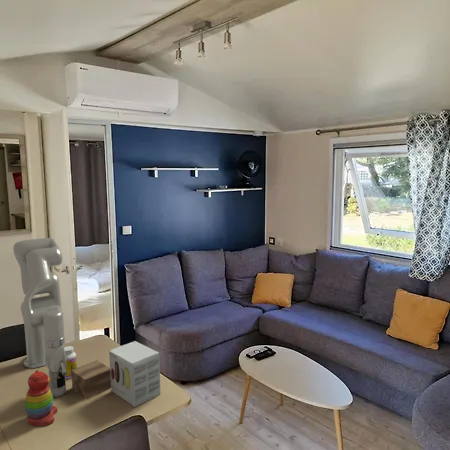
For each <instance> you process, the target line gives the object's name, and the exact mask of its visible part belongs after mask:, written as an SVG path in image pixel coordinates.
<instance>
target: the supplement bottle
mask: <svg viewBox="0 0 450 450" xmlns="http://www.w3.org/2000/svg"><path fill="white" fill-rule="evenodd" d="M64 350H65V357H66V374H65V380H70V379H72V374H71V370H73V369H75V368H78V364H77V353H76V352H75V351H74V347H73V346H72V345H71V346H70V345H68V346H64Z"/></svg>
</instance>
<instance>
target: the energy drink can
mask: <svg viewBox="0 0 450 450" xmlns="http://www.w3.org/2000/svg"><path fill="white" fill-rule="evenodd" d="M48 368H49V369H48ZM48 368H47V369H48V376H49V377H50V382H49V388H50V390H51V393H52V396H53V398H58V397H61V396H64V395H65V393H66V391H67V385H66V383H67V382H66V380H65V386H62V387H60V388H58V387H57V373H54V372H52V371H51V367H50V365H48ZM59 370H61V368H59ZM61 372H62V371H60V372H59V375H60V373H61Z"/></svg>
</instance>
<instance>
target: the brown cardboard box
mask: <svg viewBox="0 0 450 450" xmlns="http://www.w3.org/2000/svg"><path fill="white" fill-rule="evenodd" d="M71 374H72V378H71V386H72V389H73V390H74V391H76V392H77V393H78V394H80V396H82V397H83V398H85V399H88V398H90V397H93V396H96V395H97V394H100V393H101V392H102V393H103V392H104V391H107V390H109V389H111V376H110V366H107V365H106V364H104V363H103V362H101V361H99V360H94V361H92V362H89V363H87V364H84V365H81V366H79V367H78V366H77V368H75V369H73V370H71Z"/></svg>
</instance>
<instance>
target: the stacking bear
mask: <svg viewBox="0 0 450 450" xmlns="http://www.w3.org/2000/svg"><path fill="white" fill-rule="evenodd" d="M27 385H28V387H29V388H28V390H27V392H26V395H25V400H24V406H25V407H24V408H25V411H26V413H27V418H26V422H27V424H29V425H31V426H35V427H36V426H37V427H38V426H39V427H43V426H49V425H51V424H53V423H54V421H55V417H54V415H55V414H56V413H57V412H58V411H59V409H58V406H56V405H53V404H54V397H53V396H52V393H51V390H50V377H49V374H46V373H45V372H44V371H39V369H37V370H35V372H33V373H32V374H31V375H30V376H28V379H27Z"/></svg>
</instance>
